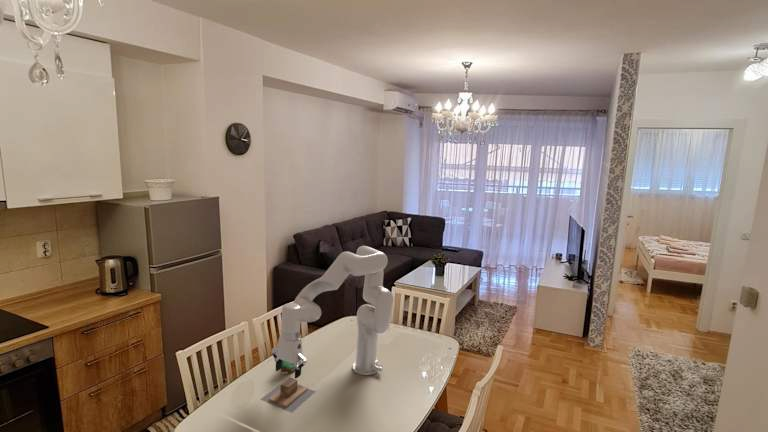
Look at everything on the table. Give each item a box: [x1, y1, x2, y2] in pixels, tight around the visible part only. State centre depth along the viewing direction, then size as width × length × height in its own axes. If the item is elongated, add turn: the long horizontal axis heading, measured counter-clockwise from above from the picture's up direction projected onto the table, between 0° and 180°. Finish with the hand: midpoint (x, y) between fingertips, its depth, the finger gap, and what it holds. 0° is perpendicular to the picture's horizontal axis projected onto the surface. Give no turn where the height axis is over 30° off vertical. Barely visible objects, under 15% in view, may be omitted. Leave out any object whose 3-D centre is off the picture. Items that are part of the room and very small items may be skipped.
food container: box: [280, 360, 296, 375], centre depth 187 cm, size 12×6×10 cm, turn 168°
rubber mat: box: [260, 383, 317, 413], centre depth 169 cm, size 16×16×1 cm
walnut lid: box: [269, 376, 309, 408], centre depth 168 cm, size 9×14×6 cm, turn 155°
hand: (288, 373), depth 167 cm, fingers open, 9 cm apart
